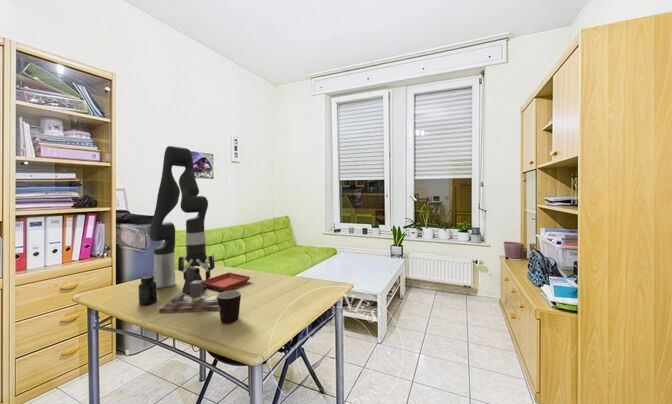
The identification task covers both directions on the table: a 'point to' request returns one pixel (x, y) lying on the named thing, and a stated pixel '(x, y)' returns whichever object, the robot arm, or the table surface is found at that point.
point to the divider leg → (196, 290)
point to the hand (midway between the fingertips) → (197, 280)
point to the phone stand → (192, 279)
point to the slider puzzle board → (190, 304)
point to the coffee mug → (229, 306)
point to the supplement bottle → (147, 291)
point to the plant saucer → (226, 281)
